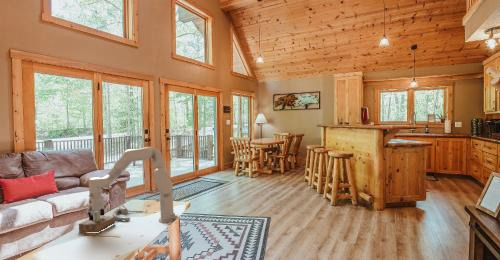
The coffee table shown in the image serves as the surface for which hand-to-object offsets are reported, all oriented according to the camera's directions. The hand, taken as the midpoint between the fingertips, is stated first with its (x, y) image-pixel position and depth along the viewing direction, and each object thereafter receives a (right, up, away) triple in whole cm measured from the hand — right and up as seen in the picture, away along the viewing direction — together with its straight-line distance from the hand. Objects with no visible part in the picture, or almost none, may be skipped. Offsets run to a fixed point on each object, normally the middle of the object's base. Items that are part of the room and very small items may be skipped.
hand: (97, 217), depth 187 cm
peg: (0, -8, 0) cm, 8 cm away
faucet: (+12, -7, +25) cm, 29 cm away
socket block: (0, -8, 0) cm, 8 cm away
